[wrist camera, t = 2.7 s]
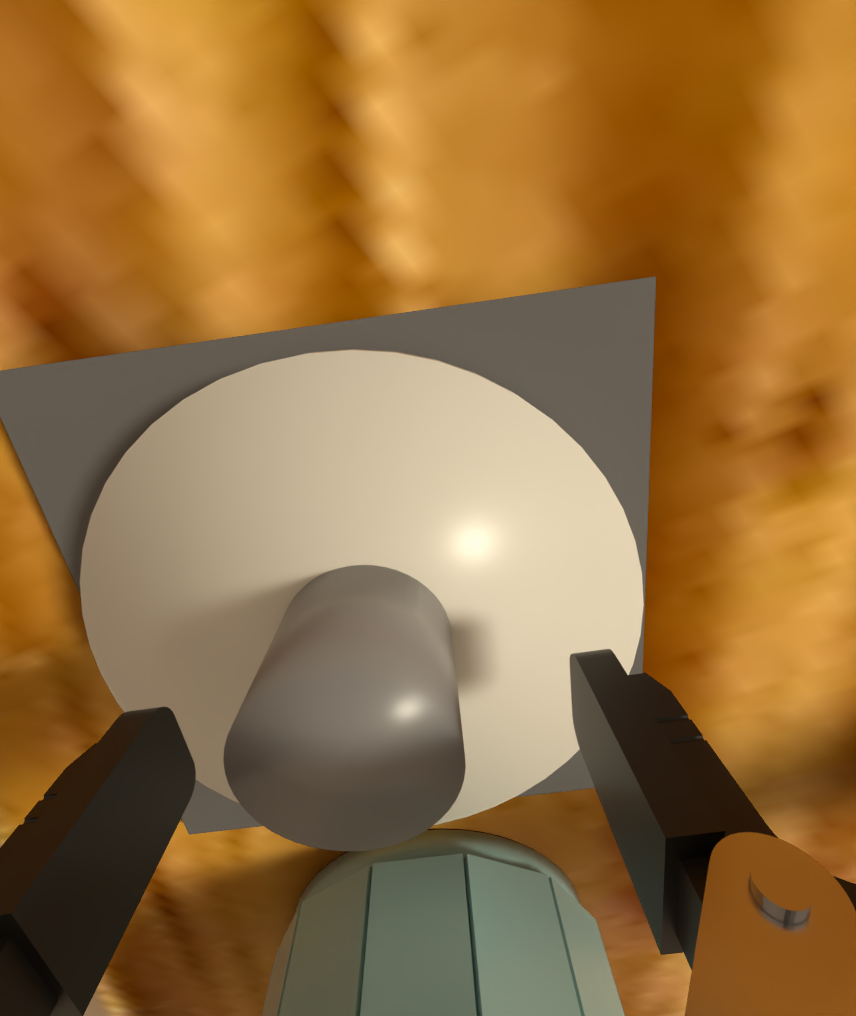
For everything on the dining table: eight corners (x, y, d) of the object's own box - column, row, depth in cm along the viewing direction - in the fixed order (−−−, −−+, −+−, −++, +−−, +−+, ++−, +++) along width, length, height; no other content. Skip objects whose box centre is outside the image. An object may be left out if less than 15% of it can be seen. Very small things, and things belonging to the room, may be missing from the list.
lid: (13, 396, 10) (-284, 444, 6) (629, 305, 10) (795, 284, 5) (201, 821, 14) (113, 1020, 10) (623, 771, 14) (710, 958, 10)
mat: (0, 371, 10) (-20, 373, 10) (644, 279, 10) (655, 276, 9) (196, 818, 15) (189, 834, 15) (631, 768, 15) (638, 782, 14)
